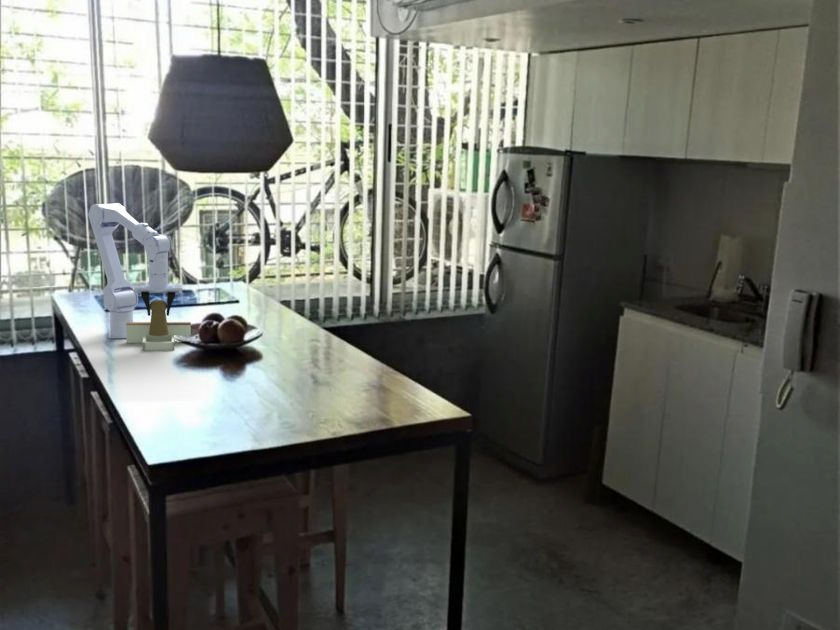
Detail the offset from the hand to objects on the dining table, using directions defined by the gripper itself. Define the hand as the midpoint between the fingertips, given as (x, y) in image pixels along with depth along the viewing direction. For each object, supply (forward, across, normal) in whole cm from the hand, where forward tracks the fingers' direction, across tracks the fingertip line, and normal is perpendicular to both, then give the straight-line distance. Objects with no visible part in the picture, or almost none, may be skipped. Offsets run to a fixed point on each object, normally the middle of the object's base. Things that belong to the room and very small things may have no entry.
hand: (158, 315), depth 263 cm
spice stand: (+10, 0, 0) cm, 10 cm away
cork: (+6, 0, -1) cm, 6 cm away
